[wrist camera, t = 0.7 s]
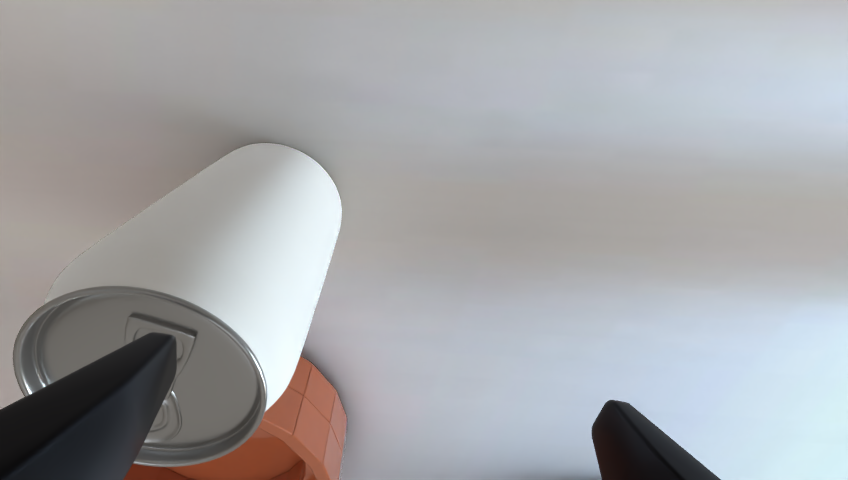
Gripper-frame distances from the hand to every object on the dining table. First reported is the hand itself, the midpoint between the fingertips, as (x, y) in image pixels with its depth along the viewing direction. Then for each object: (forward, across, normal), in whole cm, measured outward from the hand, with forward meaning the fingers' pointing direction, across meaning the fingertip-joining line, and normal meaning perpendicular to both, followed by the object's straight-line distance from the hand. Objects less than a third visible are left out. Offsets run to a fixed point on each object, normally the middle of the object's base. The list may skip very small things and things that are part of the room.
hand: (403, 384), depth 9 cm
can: (+13, +6, +2) cm, 15 cm away
